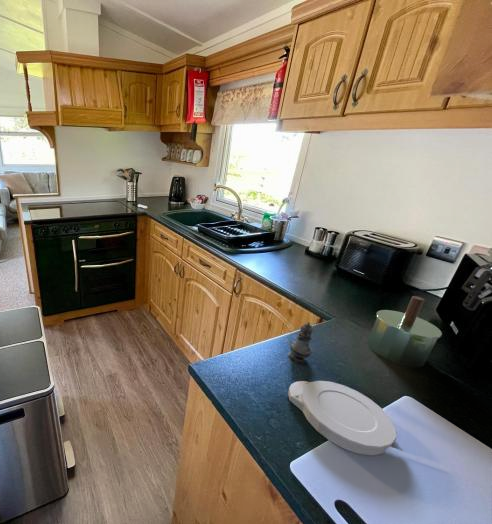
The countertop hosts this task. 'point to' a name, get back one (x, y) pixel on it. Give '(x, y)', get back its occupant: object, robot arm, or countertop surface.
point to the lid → (344, 416)
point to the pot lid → (410, 320)
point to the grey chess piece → (301, 345)
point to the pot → (399, 345)
